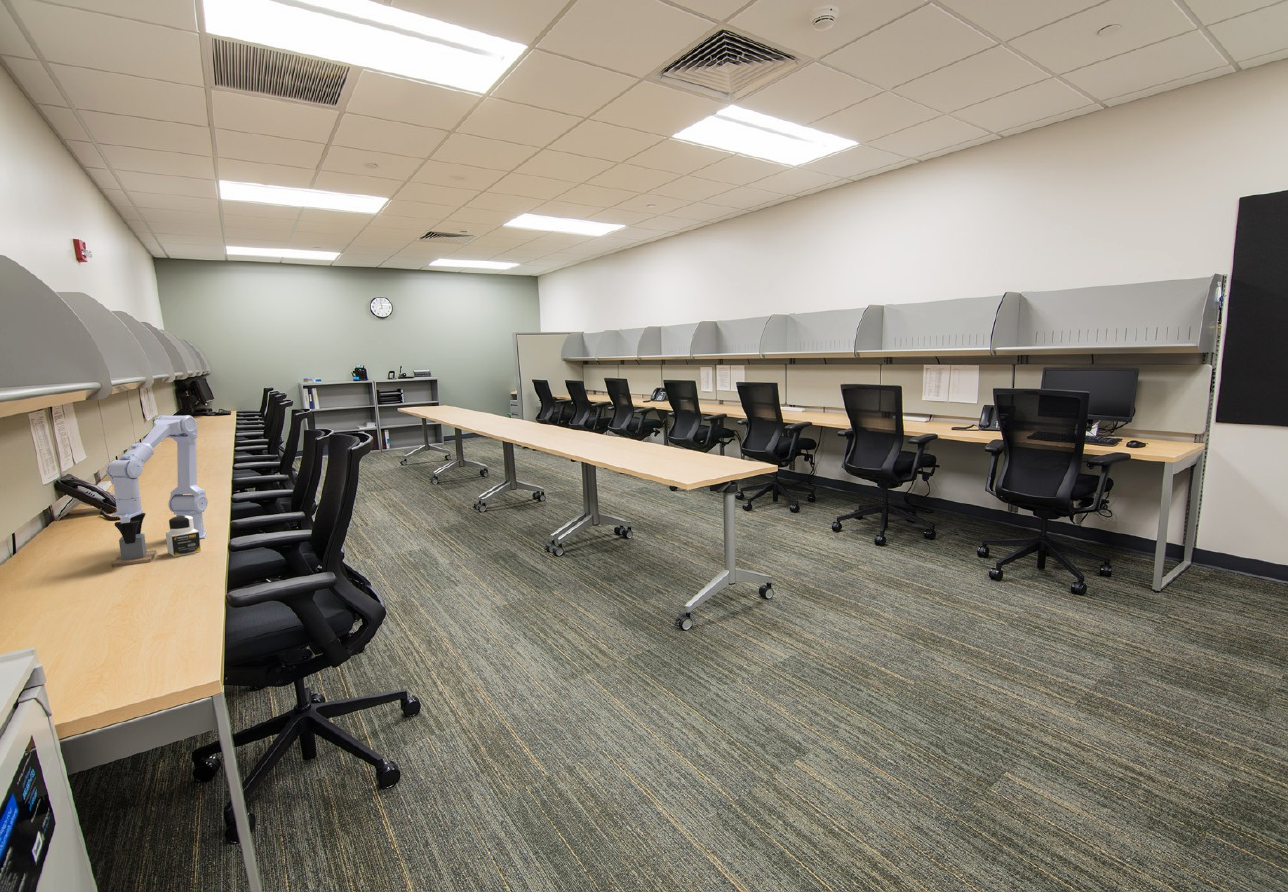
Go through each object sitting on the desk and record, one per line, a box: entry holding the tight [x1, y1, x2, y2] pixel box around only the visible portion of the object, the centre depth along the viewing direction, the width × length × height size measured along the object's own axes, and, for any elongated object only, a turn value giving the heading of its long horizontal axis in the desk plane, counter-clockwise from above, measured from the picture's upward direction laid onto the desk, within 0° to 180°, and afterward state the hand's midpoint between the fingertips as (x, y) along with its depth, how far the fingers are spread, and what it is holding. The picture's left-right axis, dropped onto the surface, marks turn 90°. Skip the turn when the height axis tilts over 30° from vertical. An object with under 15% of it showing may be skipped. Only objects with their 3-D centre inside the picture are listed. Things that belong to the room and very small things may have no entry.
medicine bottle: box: [165, 516, 202, 558], centre depth 184 cm, size 7×7×12 cm
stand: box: [111, 549, 157, 568], centre depth 177 cm, size 10×9×6 cm
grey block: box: [118, 532, 147, 561], centre depth 177 cm, size 5×5×7 cm
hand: (133, 540), depth 177 cm, fingers open, 7 cm apart
